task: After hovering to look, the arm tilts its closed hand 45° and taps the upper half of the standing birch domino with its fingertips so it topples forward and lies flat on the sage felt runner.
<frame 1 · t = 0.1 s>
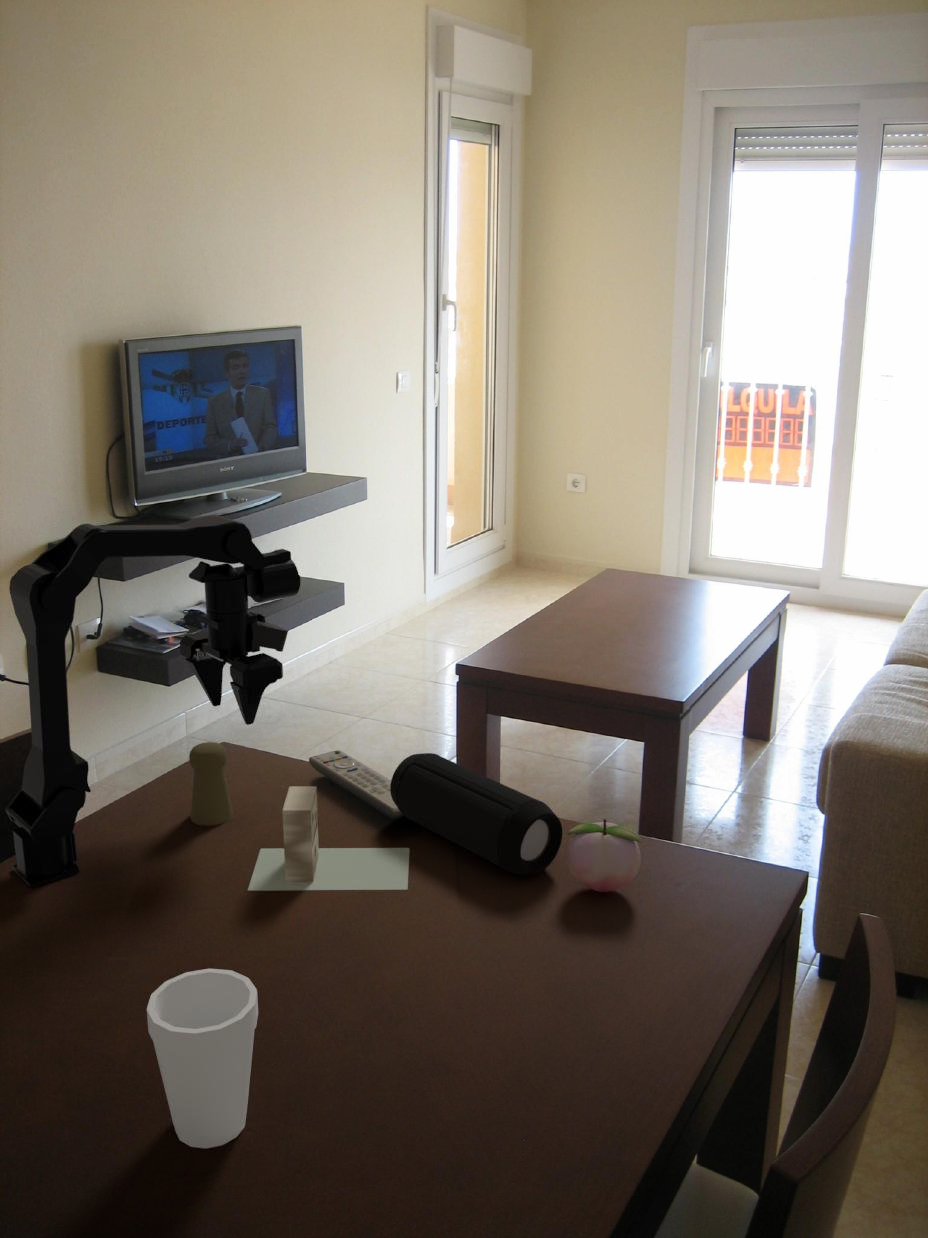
hand: (232, 714, 162), 15 cm above the table, tool pointing down, fingers open, 9 cm apart
portable speaker: (472, 845, 157), on the table
domino: (302, 868, 149), resting on runner
cork: (212, 818, 164), on the table
decorative fruit: (601, 891, 145), on the table
foam cup: (211, 1125, 104), on the table
runner: (331, 869, 149), on the table
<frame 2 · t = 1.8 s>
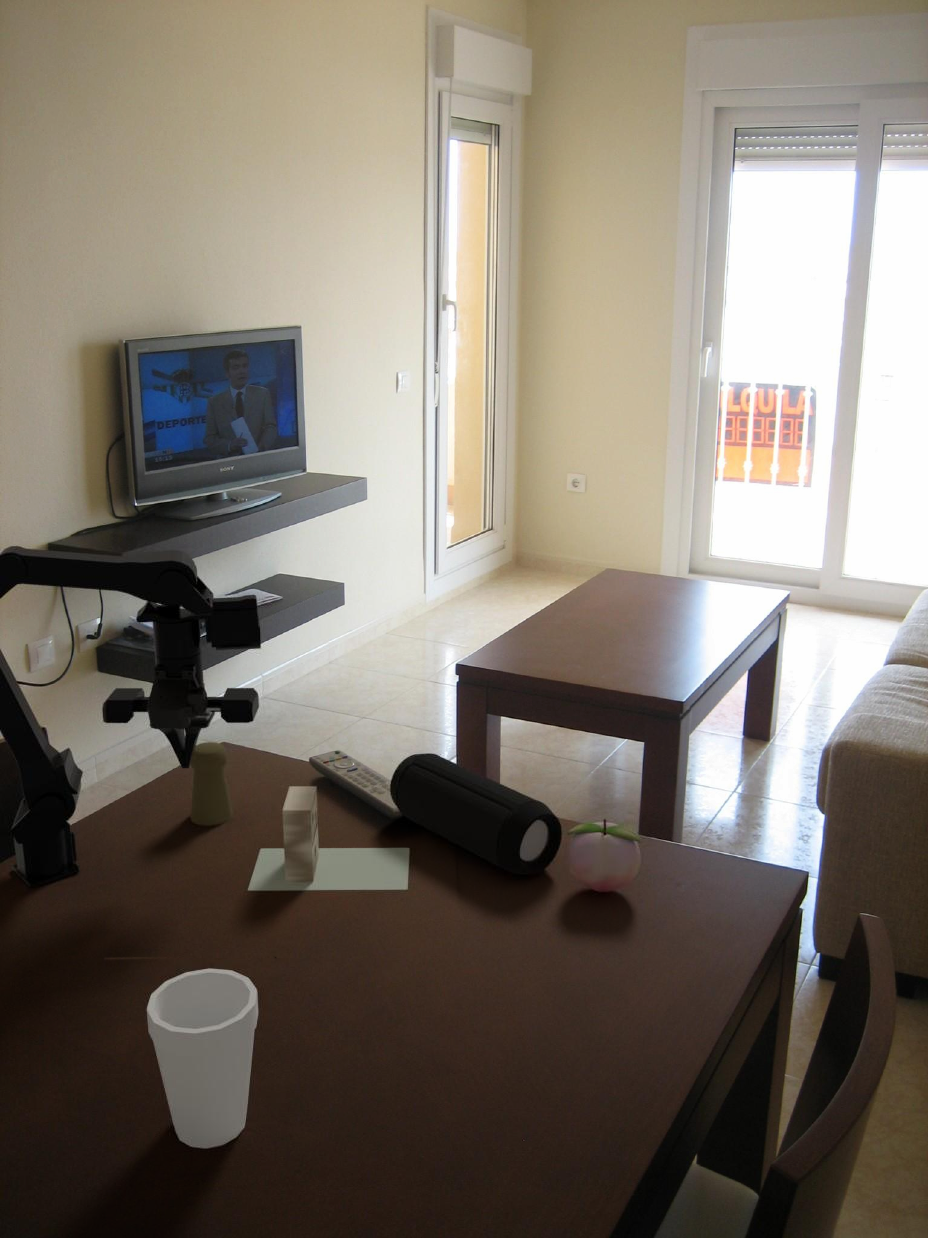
hand: (186, 767, 148), 13 cm above the table, tool pointing down, fingers closed
nothing on the table moved.
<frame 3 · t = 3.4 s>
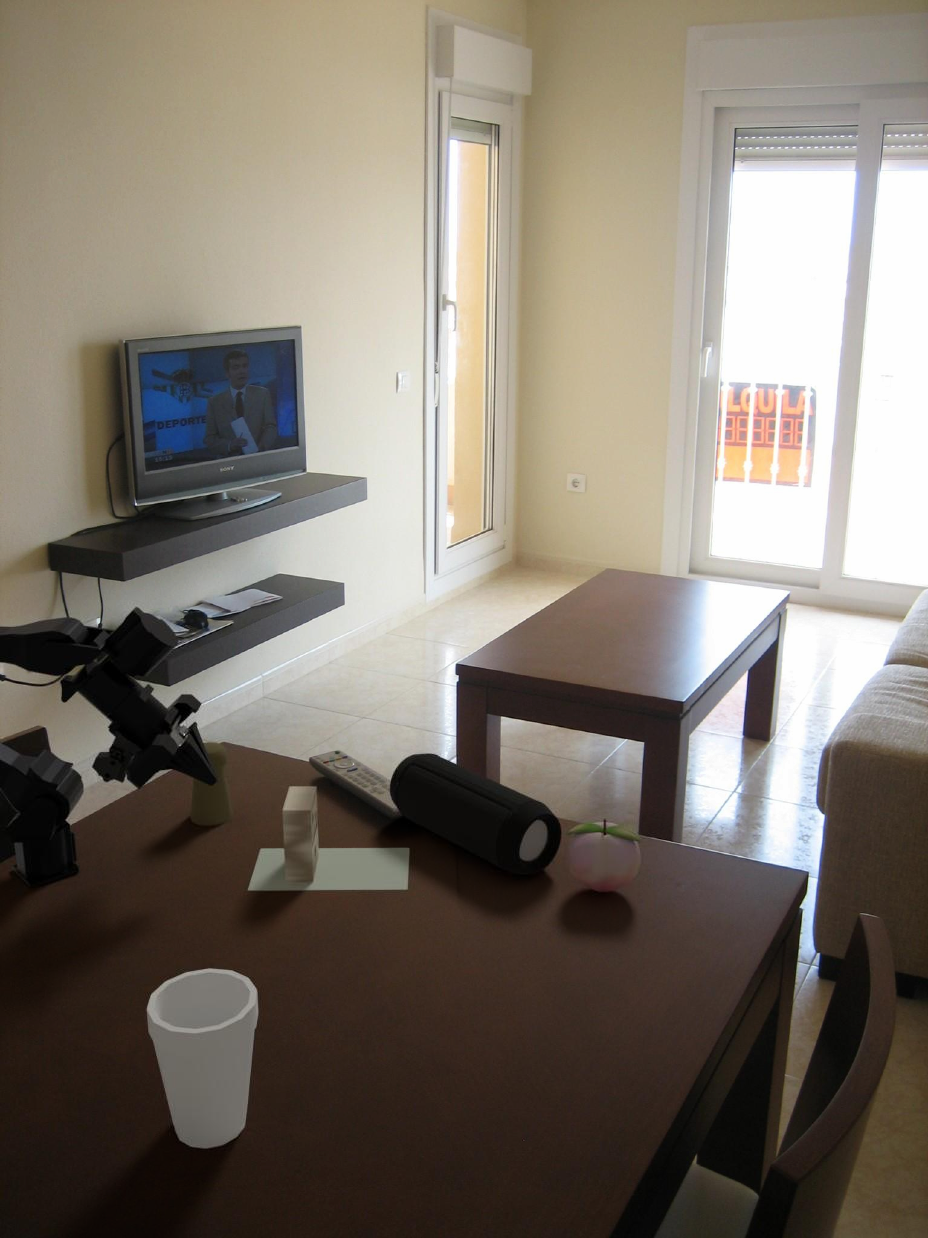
hand: (215, 782, 145), 12 cm above the table, tool tilted 45°, fingers closed
nothing on the table moved.
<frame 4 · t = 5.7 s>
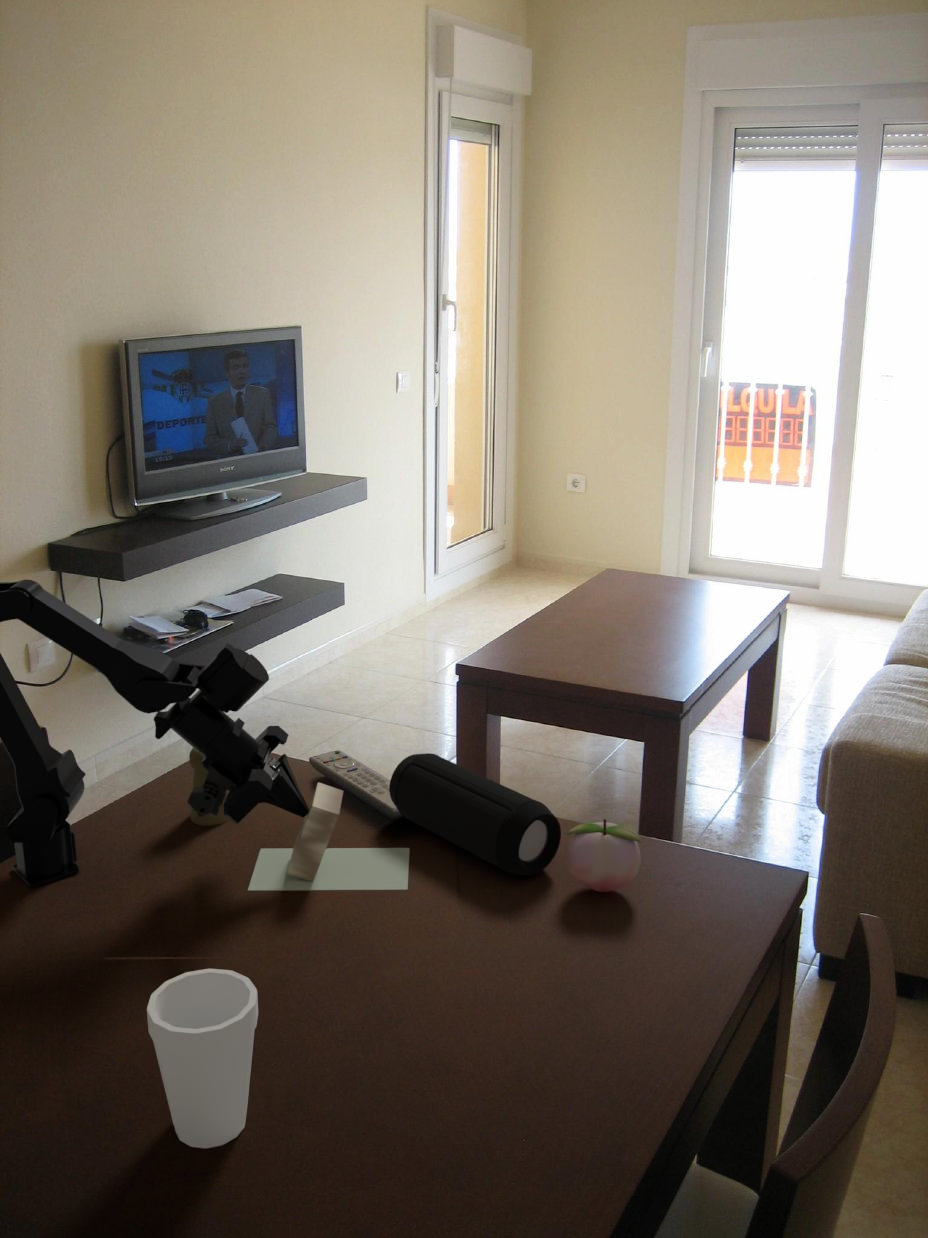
hand: (306, 814, 147), 8 cm above the table, tool tilted 45°, fingers closed
domino: (303, 864, 149), point 1 cm above the table, tilted 20°, touching runner
everything else where it was.
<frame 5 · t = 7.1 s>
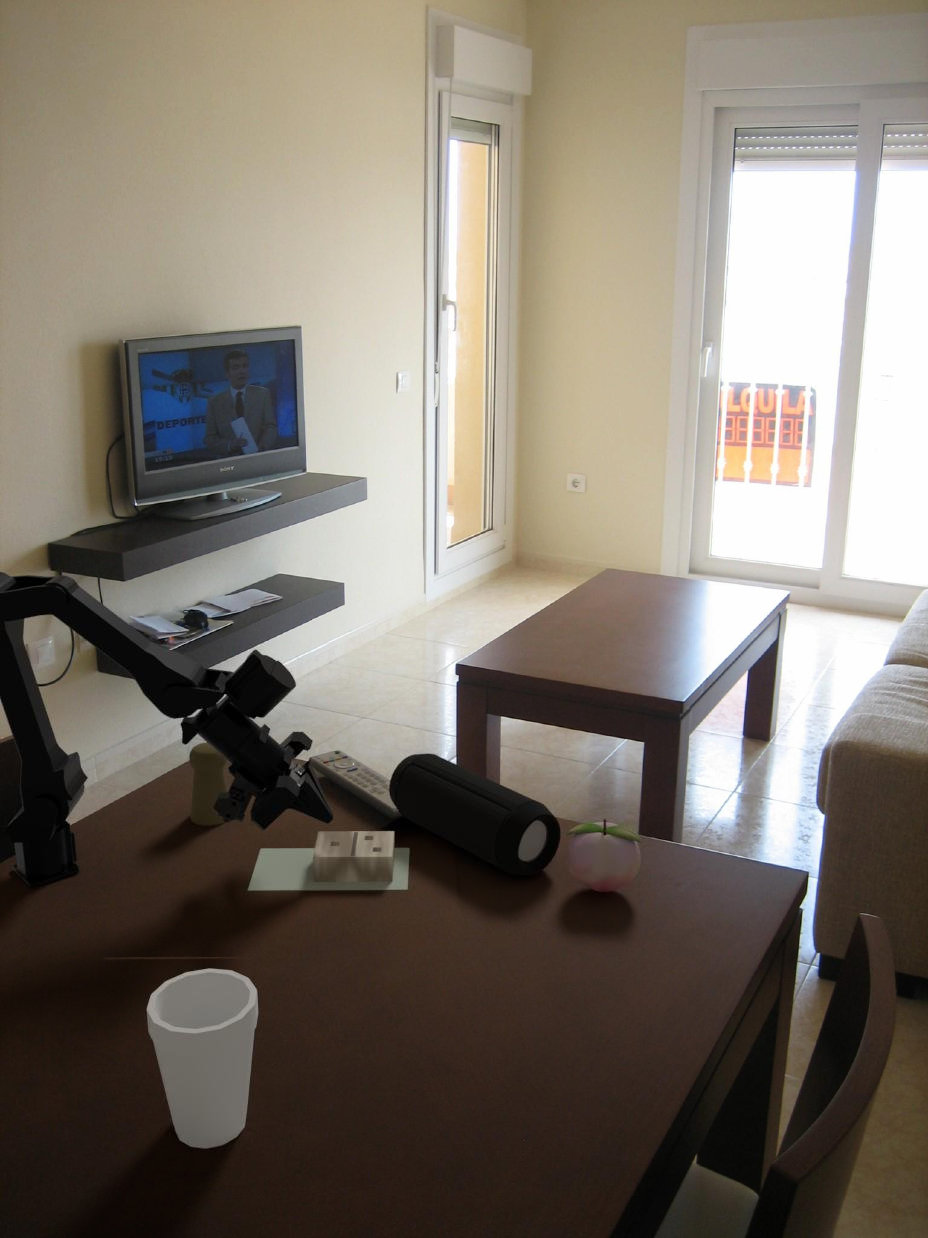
hand: (331, 820, 147), 7 cm above the table, tool tilted 45°, fingers closed
domino: (316, 856, 149), point 2 cm above the table, tilted 90°, touching runner
everything else where it was.
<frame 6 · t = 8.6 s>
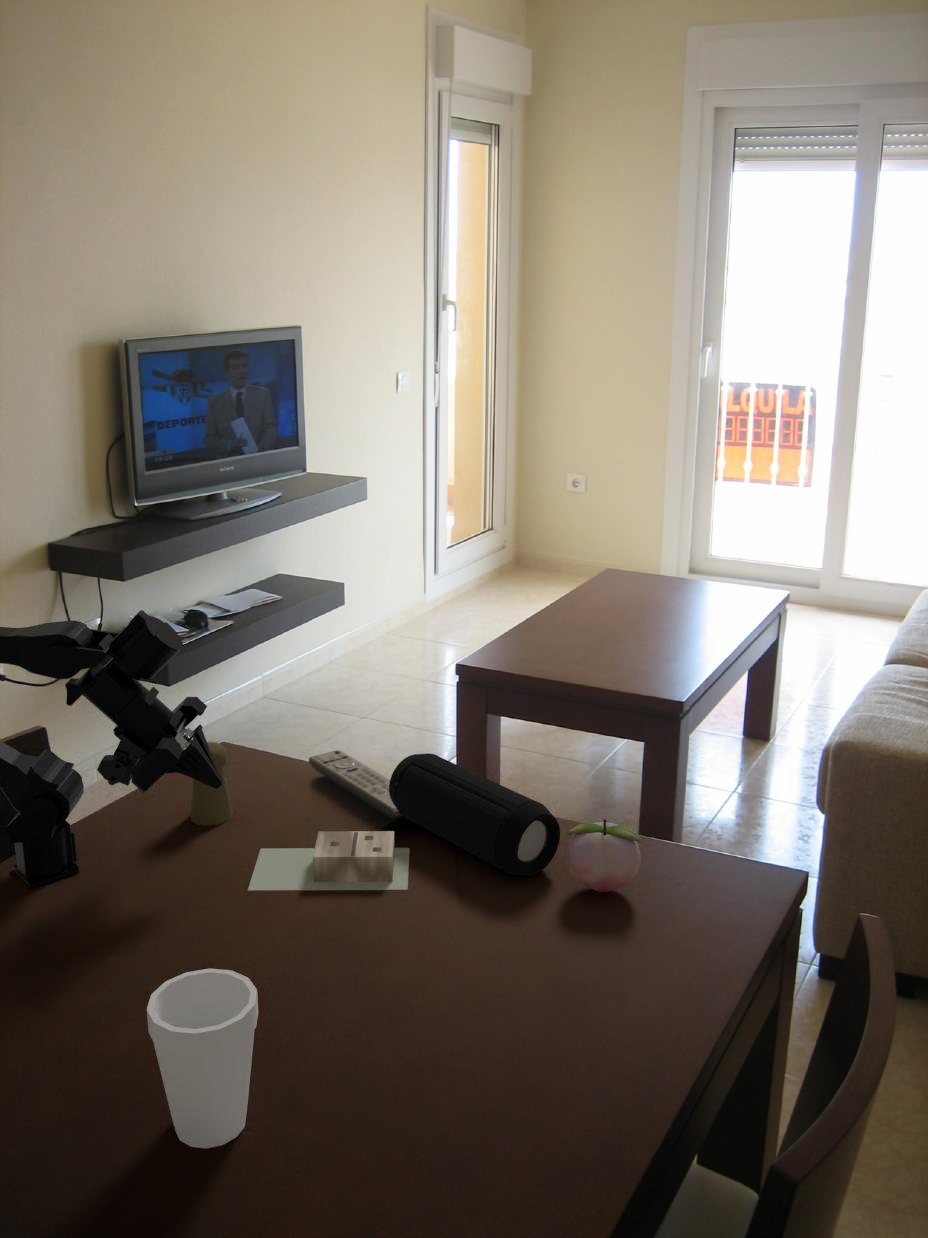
hand: (220, 785, 145), 12 cm above the table, tool tilted 45°, fingers closed
nothing on the table moved.
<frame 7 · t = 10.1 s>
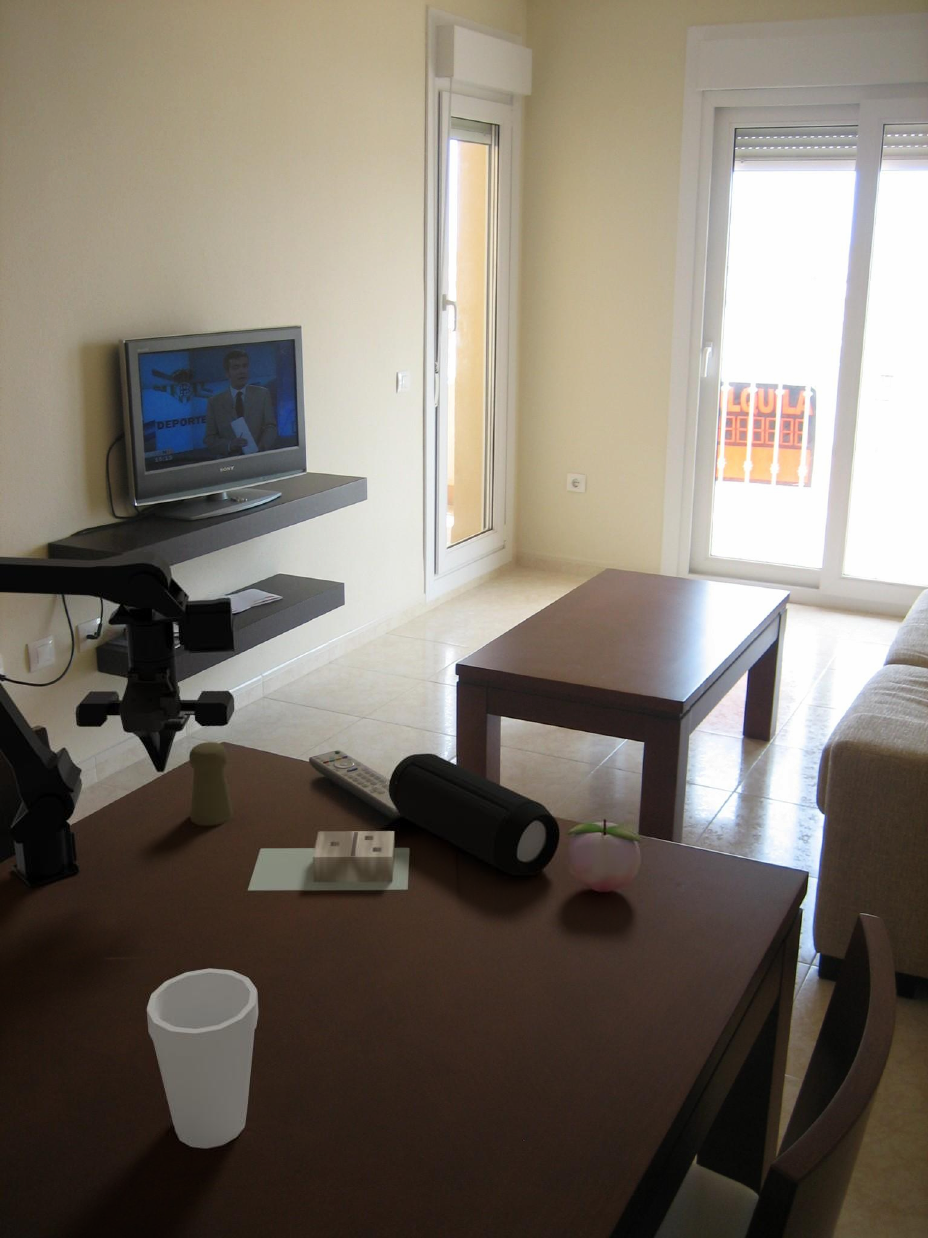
hand: (161, 771, 147), 13 cm above the table, tool pointing down, fingers closed
nothing on the table moved.
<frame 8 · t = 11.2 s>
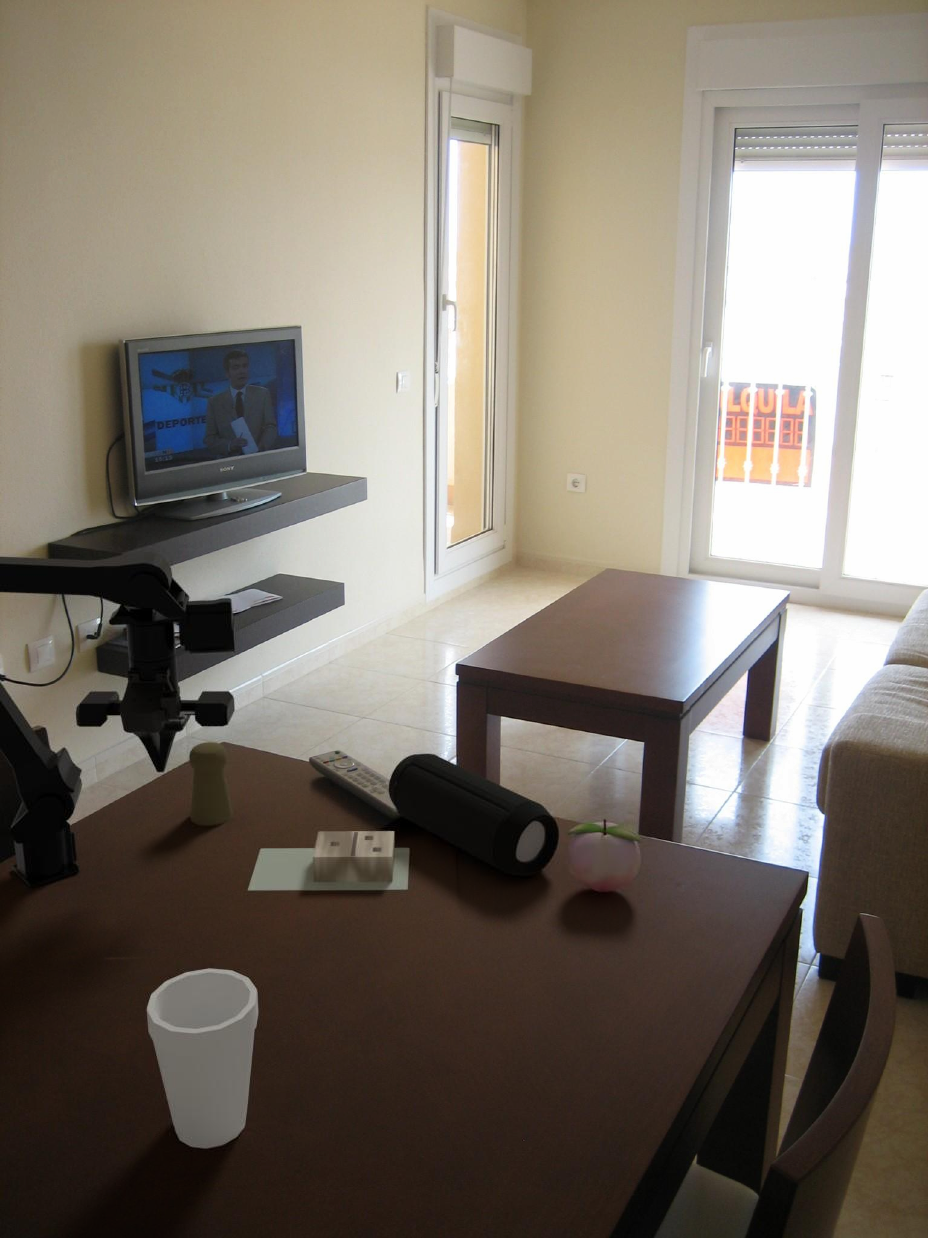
hand: (161, 771, 147), 13 cm above the table, tool pointing down, fingers closed
nothing on the table moved.
at the end: domino tilted 90°; domino inside the target area (3.2 cm from its centre), point 2.0 cm above the table; domino touching runner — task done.
